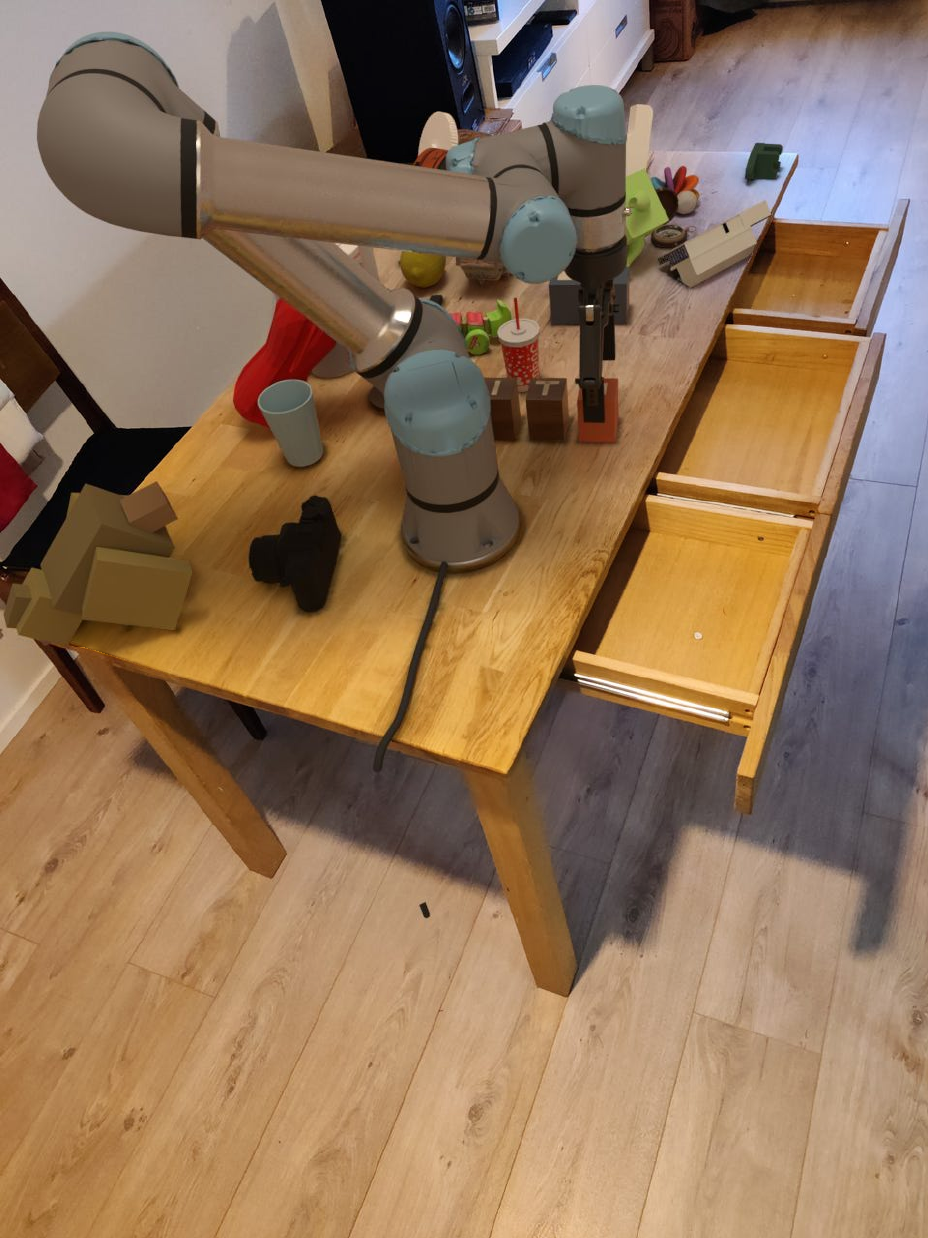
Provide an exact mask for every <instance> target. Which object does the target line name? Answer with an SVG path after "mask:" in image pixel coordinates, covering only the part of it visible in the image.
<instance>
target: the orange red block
mask: <svg viewBox="0 0 928 1238" xmlns="http://www.w3.org/2000/svg"><path fill="white" fill-rule="evenodd" d="M577 393H578V394H577V398H576V407H577V427H578V428H577V429H578V431H577V432H578V442H579V443H582V442H583V443H584V442H585V443H590V442H591V443H616V438H617V432H618V426H619V378H615V377H613V378H612V377H611V378H610V377H609V378H608V377H606V378H605V377H604V397H605V423H584V418H583V401H582V388H579V387H578V392H577Z"/></svg>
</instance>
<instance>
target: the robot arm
mask: <svg viewBox="0 0 928 1238" xmlns="http://www.w3.org/2000/svg"><path fill="white" fill-rule="evenodd" d="M36 124H37V125H36V142H37V148H38V152H39V156H40V160H41V163H42V165H43V167H44V169H45V171H46V173H47V175H48V177H49V179H50V180H51V181H52V183H53V184H54V186H55V187H56V189H57V190H58V191H59V192H60V193H62V195H63V196H64V198H66V199H67V201H69V202H70V203H72V205H74V206H75V207H76V208H78V209H79V210H81V211H82V212H84V213H85V214H87V215H89V216H91V217H93V218H96V219H97V220H99V221H102V222H105V223H107V224H110V225H113V226H117V227H119V228H124V229H126V230H127V229H128V230H132V231H135V232H142V233H147V234H154V235H161V236H166V237H173V238H174V237H176V238H183V239H193V240H204V241H205V242H207V243H208V244H210V246H212V247H213V248H214V249H216V250H217V251H218V252H220V253H221V254H222V255H224V256H225V257H226V258H228V259H229V260H230V261H231V262H232V263H234V264H235V265H237V266H238V267H239V268H240V269H242V270H243V271H244V272H246V273H247V274H248V275H250V276H251V277H252V278H253V279H255V281H257V282H258V283H260V284H261V285H262V286H264V287H265V288H266V289H268V290H269V291H270V292H271V293H272V294H274V295H275V296H277V297H278V299H279V298H281V299H282V300H283V301H285V302H286V303H287V304H288V305H290V306H291V307H292V308H294V309H295V310H296V311H298V312H299V313H300V314H301V315H303V316H304V317H305V318H307V319H308V320H309V321H311V322H312V323H313V324H314V325H316V326H317V327H318V328H320V329H321V330H322V331H324V332H325V333H326V334H327V335H329V336H330V337H331V338H333V339H334V340H335V341H337V342H338V343H339V344H340V345H342V346H343V347H344V348H346V352H347V361H348V365H349V367H350V368H351V369H352V372H355V373H356V374H357V375H359V376H360V377H361V378H362V379H364V380H365V381H366V382H368V383H369V384H370V385H372V387H373V386H375V387H376V388H377V389H378V390H379V391H380V392H381V393H382V394H383V396H384V401H385V403H384V410H385V413H384V414H385V418H386V422H387V425H388V427H389V428H390V432H391V436H392V440H393V444H394V448H395V452H396V456H397V461H398V465H399V469H400V473H401V476H402V477H401V478H402V481H403V483H404V484H403V485H404V489H405V492H406V494H405V500H404V506H403V513H402V519H401V525H400V531H401V536H402V540H403V544H404V547H405V549H406V551H407V553H408V555H409V556H410V557H411V558H412V559H413V560H414V561H415V562H417V563H418V564H419V565H421V566H423V567H425V568H427V569H429V570H432V571H436V572H437V574H436V575H437V576H436V580H435V584H434V587H433V591H432V593H431V597H430V601H429V605H428V608H427V610H426V614H425V617H424V621H423V623H422V626H421V629H420V631H419V635H418V637H417V640H416V644H415V647H414V650H413V653H412V657H411V660H410V663H409V667H408V671H407V675H406V680H405V684H404V688H403V692H402V697H401V699H400V700H401V701H400V703H399V706H398V709H397V712H396V714H395V716H394V719H393V721H392V723H391V725H390V726H389V727H388V728H387V730H386V732H385V733H384V735H383V736H382V738H381V739H380V741H379V744H378V746H377V748H376V751H375V755H374V759H373V768H372V769H373V772H374V773H379V772H381V771H382V769H383V764H384V759H385V755H386V752H387V749H388V747H389V745H390V743H391V742H392V740H393V739H394V737H395V735H396V734H397V732H398V731H399V730H400V728H401V726H402V724H403V722H404V720H405V717H406V714H407V712H408V708H409V706H410V703H411V699H412V694H413V690H414V687H415V686H414V685H415V681H416V678H417V673H418V668H419V664H420V660H421V658H422V655H423V651H424V648H425V645H426V642H427V639H428V636H429V633H430V629H431V627H432V624H433V621H434V619H435V615H436V611H437V608H438V605H439V601H440V597H441V594H442V591H443V587H444V586H443V585H444V582H445V579H446V575H447V573H449V574H450V573H451V574H457V573H467V572H472V571H476V570H480V569H482V568H485V567H487V566H490V565H491V564H494V563H495V562H497V561H499V560H500V559H501V558H502V557H504V556H505V555H506V554H508V553H509V551H510V550H511V549H512V548H513V546H514V545H515V543H516V542H517V539H518V538H519V534H520V530H521V521H520V513H519V508H518V505H517V502H516V501H515V499H514V497H513V496H512V494H511V492H510V491H509V490H508V487H507V486H506V484H505V483H504V481H503V479H502V478H501V476H500V472H499V465H498V457H497V451H496V443H495V440H494V436H493V429H492V422H491V415H490V411H491V405H490V404H491V402H490V394H489V390H488V387H487V385H486V383H485V379H484V374H483V373H482V371H481V369H480V368H479V366H478V365H477V364H476V363H475V362H474V361H473V360H472V359H471V358H470V354H469V351H468V350H467V347H466V342H465V338H464V336H463V333H462V331H461V330H460V327H459V326H458V324H457V323H456V321H455V320H454V319H453V317H452V316H451V315H450V314H449V313H450V312H449V311H447V310H446V308H444V307H443V306H442V305H441V304H440V305H439V304H437V303H435V302H433V301H431V300H429V299H427V298H423V297H418V296H417V295H415V294H414V293H413V292H412V291H411V290H409V289H408V288H405V287H399V288H393V289H389V288H388V287H386V286H385V285H384V284H383V283H382V282H381V281H380V282H379V281H378V280H377V279H376V278H374V277H373V276H372V275H371V274H370V273H369V272H368V271H366V270H365V269H364V268H363V267H362V266H361V265H359V264H358V263H357V262H356V261H355V260H354V259H352V258H351V257H350V256H349V255H348V254H347V253H345V252H344V251H343V250H342V249H341V248H340V247H338V246H337V245H336V244H335V243H339V244H348V245H356V246H365V247H373V249H381V250H382V249H384V250H391V251H400V252H402V251H407V252H416V253H424V254H433V255H441V256H446V257H451V258H456V257H458V258H467V259H475V260H482V261H489V262H496V263H502V264H503V265H504V266H505V268H506V269H507V270H508V271H509V272H510V275H512V276H513V277H514V278H515V279H517V280H518V281H521V282H522V283H525V284H530V285H540V284H544V283H547V282H550V280H552V279H554V278H555V277H557V276H558V275H560V274H561V273H562V272H563V271H565V273H566V275H567V276H568V277H569V278H570V279H572V280H574V281H577V282H579V283H581V289H579V291H578V301H579V303H580V305H579V308H578V311H579V323H580V325H579V361H578V362H579V363H578V366H579V367H578V375H579V377H578V378H574V383H575V385H578V389H579V388H582V401H583V418H584V423H605V397H604V378H605V377H604V376H603V362H604V361H605V362H606V361H616V328H615V327H616V324H615V316H610V313H619V312H620V304H614V303H613V302H615V299H616V295H615V288H614V278H616V277H617V276H619V275H620V274H621V273H622V272H623V271H624V270H625V268H626V265H627V254H628V249H627V237H626V235H625V233H626V217H627V216H630V215H631V214H632V209H631V207H625V205H626V142H627V127H626V114H625V103H624V99H623V96H622V95H621V94H619V92H618V90H616V89H614V88H612V87H610V86H606V85H601V84H600V85H598V84H588V85H582V86H576V87H573V88H571V89H570V90H569V91H567V92H566V91H565V92H562V93H561V94H559V95H558V96H557V97H556V99H555V100H554V102H553V104H552V113H551V120H549V121H545V122H542V123H541V124H537V125H533V126H529V127H525V128H521V129H516V130H512V131H506V132H503V133H498V134H494V135H492V136H489V137H485V138H480V137H479V138H475V139H474V140H472V141H469V142H466V143H463V144H460V145H457V146H454V147H452V148H451V149H450V150H449V151H448V153H447V155H446V170H447V171H446V170H439V169H433V168H426V167H419V166H413V165H410V164H404V163H398V162H391V161H385V160H378V159H371V158H364V157H358V156H351V155H345V154H338V153H333V152H332V153H331V152H325V151H324V152H323V151H317V150H311V149H305V148H299V147H298V148H296V147H291V146H284V145H277V144H272V143H264V142H256V141H250V140H243V139H237V138H230V137H223V136H221V133H220V126H219V123H218V121H216V119H215V118H214V117H213V116H212V115H210V114H209V113H208V112H207V111H206V110H205V109H203V108H202V107H201V106H200V105H199V104H198V103H196V102H195V101H194V100H193V99H192V98H191V97H190V96H189V95H187V94H186V93H185V92H184V91H183V90H182V89H181V88H180V87H179V83H178V81H177V78H176V76H175V74H174V73H173V71H172V69H171V68H170V66H169V65H168V64H167V62H166V61H165V59H164V58H163V57H162V56H161V55H160V54H159V53H158V52H157V51H155V49H154V48H152V47H151V46H150V45H149V44H147V43H146V42H144V41H142V40H141V39H139V38H137V37H134V36H132V35H130V34H126V33H123V32H118V31H97V32H92V33H89V34H86V35H84V36H82V37H80V38H79V39H76V41H74V42H73V43H72V44H71V45H69V46H68V47H67V49H66V50H65V51H64V52H63V54H62V56H61V57H60V58H59V59H58V60H57V61H56V62H55V66H54V68H53V70H52V71H51V73H50V76H49V79H48V86H47V90H46V95H45V99H44V100H43V103H42V105H41V108H40V111H39V115H38V118H37V123H36ZM387 288H388V289H389V290H388V289H387ZM418 906H419V908H420V911H421V914H422V916H423V918H424V919H429V918H430V917H431V912H430V910H429V906H428V904H427V902H426V901H424V902H422V903H420V904H418Z"/></svg>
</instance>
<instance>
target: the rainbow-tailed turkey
mask: <svg viewBox="0 0 928 1238" xmlns="http://www.w3.org/2000/svg"><path fill="white" fill-rule="evenodd" d="M687 173H688V168H687V167H686V166H685V165H681V166H680V167H679V168H678V169H677V170H676V172H675V173H674V176H673V175H672V170H671V167H669V166H666V167H665V168H664V169H663V174H664V180H661V179H660V178H659V177H657V176H652V177H650V179H651V183H652V185H653V187H654V189H655V190H656V189H659V188H661V187H662V188H669V189H671V190H672V191H674V192H675V193H676V195H677V197H678V200H679V202H678V205H679V207H678V210H677V214H680V215H687V214H690V213H691V212H693V211H694V210H695V208H696V207H697V202H698V201H699V199H700V193H699V191H698V190H696V189H695V188H696V187H697V186H698V183H699V181H700V178H699V176H697V175H696V174H690V175H688V176H687Z"/></svg>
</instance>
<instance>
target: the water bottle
mask: <svg viewBox="0 0 928 1238" xmlns="http://www.w3.org/2000/svg"><path fill="white" fill-rule="evenodd" d="M272 316H273V317H272V320H271V324H270V326H269V331H268V333H267V337H266V340H265V343H264V344H263V345H262V346H261V347H260V348H259V349H258V351H257V352H256V353H255V354H254V355H252V357H251V358H250V359H249V360H248V362H247V363H246V364H245V365H244V366H243V367H242V369H241V371H240V373H239V375H238V377H237V379H236V381H235V384H234V389H233V395H232V396H233V397H232V403H233V406H234V409H235V411H236V412H237V413H238V414H239V415H240V416H241V417H242V418H243V419H244V420H246V421H248V422H250V423H254V424H257V425H260V426H261V427H264V428H265V429H267V430H271V429H270V427H269V425H268V423H267V421H266V419H265V418H264V416H263V414H262V412H261V410H260V408H259V406H258V398H259V396H260V394H261V393H262V392H263V391H264V390H265V389H266V388H268V387H269V386H271V385H273V384H275V383H277V382H281V381H284V380H301V381H304V382H306V383H308V379H309V376H310V374H311V373H312V370H313V368H314V367H315V366H316V365H317V364H318V363H319V362H320V361H321V360H322V359H323V358H324V357H325V356H326V355H327V354H328V353H329V352H330V351H331V350H332V349H333V348H334V347H335V345H336V343H337V341H335V340H334V339H333V338H331V337H330V336H329V335H327V334H326V333H325V332H324V331H322V330H321V329H320V328H318V327H317V326H316V325H314V324H313V323H312V322H311V321H309V320H308V319H307V318H305V317H304V316H303V315H301V314H300V313H299V312H298V311H296V310H295V309H294V308H292V307H291V306H290V305H288V304H287V303H286V302H285V301H283V300H282V299H281V298H279V297H278V300H277V301H276V303H275V308H274V311H273V315H272Z"/></svg>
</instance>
